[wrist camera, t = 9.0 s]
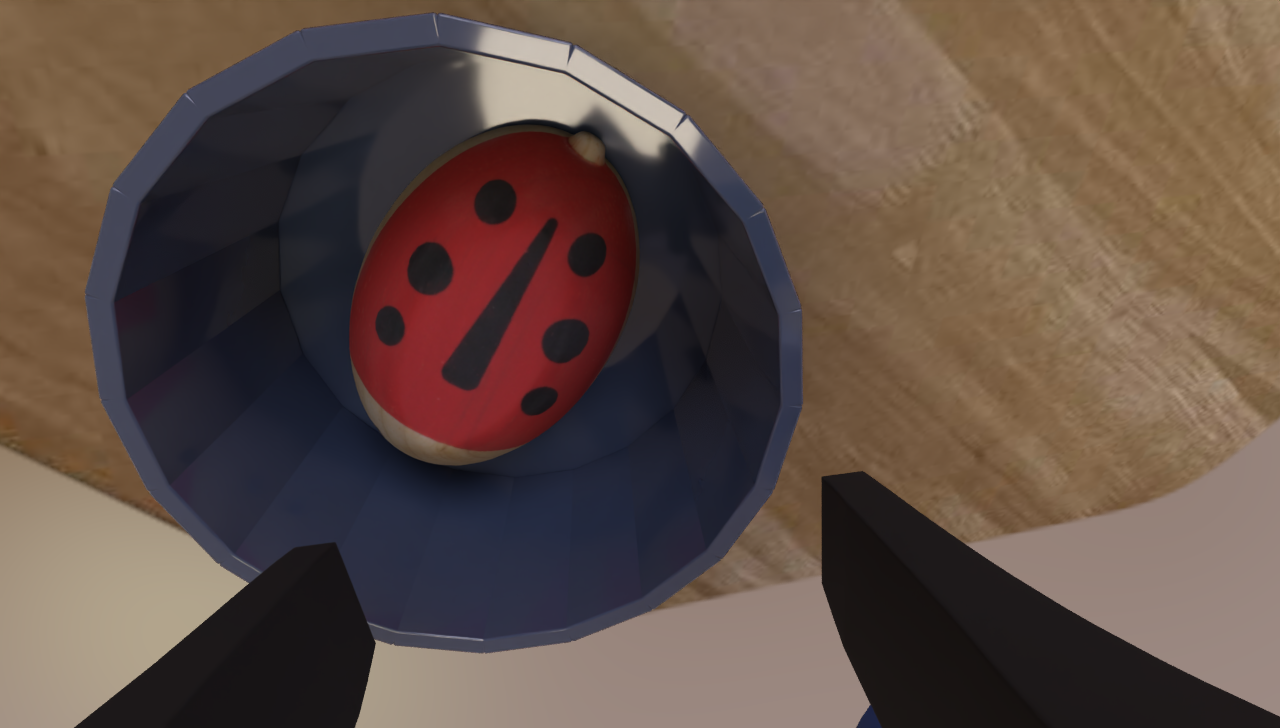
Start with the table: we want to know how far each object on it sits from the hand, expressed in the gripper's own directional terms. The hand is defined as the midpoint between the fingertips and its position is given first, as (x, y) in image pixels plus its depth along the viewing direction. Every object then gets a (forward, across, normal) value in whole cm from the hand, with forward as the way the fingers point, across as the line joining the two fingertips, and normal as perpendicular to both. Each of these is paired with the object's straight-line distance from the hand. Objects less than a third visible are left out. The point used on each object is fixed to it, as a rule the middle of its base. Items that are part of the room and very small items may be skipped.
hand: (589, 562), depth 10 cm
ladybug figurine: (+10, +2, -1) cm, 10 cm away
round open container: (+10, +2, -1) cm, 11 cm away
